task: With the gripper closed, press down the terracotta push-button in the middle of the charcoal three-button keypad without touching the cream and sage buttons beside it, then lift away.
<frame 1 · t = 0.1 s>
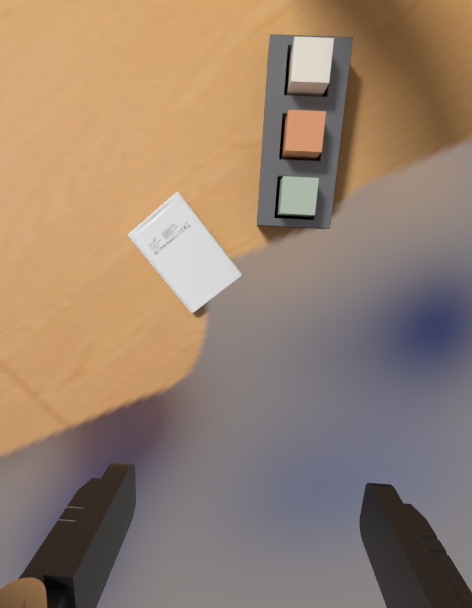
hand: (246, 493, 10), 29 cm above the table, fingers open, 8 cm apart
external hard drive: (187, 254, 38), on the table
cream button: (308, 69, 30), point 3 cm above the table, slide at 0.0 cm
terracotta button: (302, 136, 31), point 3 cm above the table, slide at 0.0 cm
keypad: (297, 145, 34), on the table
sage button: (296, 197, 32), point 3 cm above the table, slide at 0.0 cm
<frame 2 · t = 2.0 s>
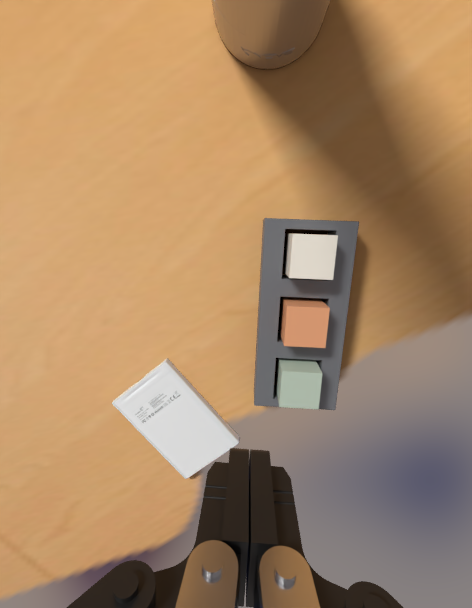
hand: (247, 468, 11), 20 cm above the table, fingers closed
external hard drive: (179, 414, 35), on the table
cream button: (309, 255, 26), point 3 cm above the table, slide at 0.0 cm
terracotta button: (303, 321, 28), point 3 cm above the table, slide at 0.0 cm
keypad: (297, 312, 31), on the table
sage button: (297, 381, 29), point 3 cm above the table, slide at 0.0 cm
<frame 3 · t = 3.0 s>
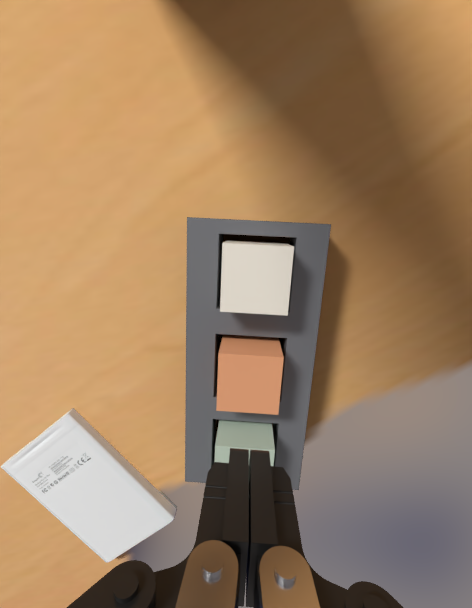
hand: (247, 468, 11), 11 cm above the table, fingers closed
external hard drive: (97, 477, 26), on the table
cream button: (255, 275, 17), point 3 cm above the table, slide at 0.0 cm
terracotta button: (249, 370, 19), point 3 cm above the table, slide at 0.0 cm
keypad: (249, 350, 22), on the table
sage button: (243, 452, 20), point 3 cm above the table, slide at 0.0 cm
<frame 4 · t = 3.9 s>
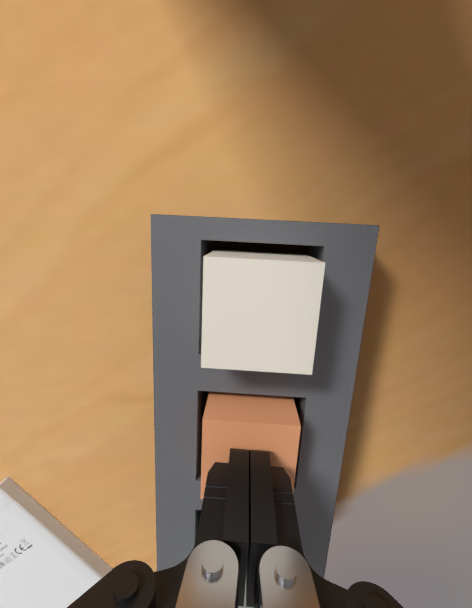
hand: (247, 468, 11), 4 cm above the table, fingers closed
external hard drive: (48, 560, 20), on the table
cream button: (258, 304, 11), point 3 cm above the table, slide at 0.0 cm
terracotta button: (248, 434, 13), point 3 cm above the table, slide at 0.7 cm, touching gripper
keypad: (248, 401, 16), on the table
sage button: (240, 557, 14), point 3 cm above the table, slide at 0.0 cm
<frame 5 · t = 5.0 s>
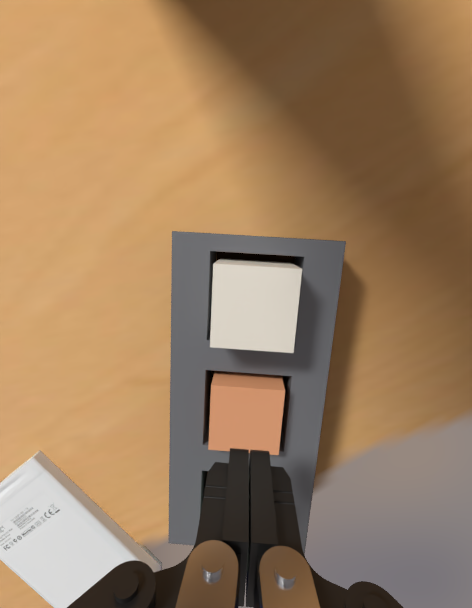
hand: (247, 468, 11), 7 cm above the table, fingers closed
external hard drive: (70, 529, 23), on the table
cream button: (253, 301, 14), point 3 cm above the table, slide at 0.0 cm
terracotta button: (245, 402, 17), point 2 cm above the table, slide at 1.2 cm
keypad: (246, 384, 19), on the table
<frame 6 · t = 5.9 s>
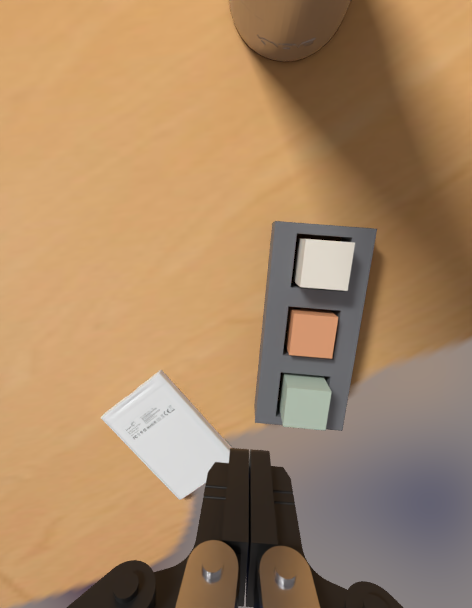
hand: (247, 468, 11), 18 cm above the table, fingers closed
external hard drive: (173, 429, 33), on the table
cream button: (321, 263, 24), point 3 cm above the table, slide at 0.0 cm
terracotta button: (309, 330, 27), point 2 cm above the table, slide at 1.2 cm
keypad: (304, 323, 29), on the table
sage button: (303, 398, 27), point 3 cm above the table, slide at 0.0 cm
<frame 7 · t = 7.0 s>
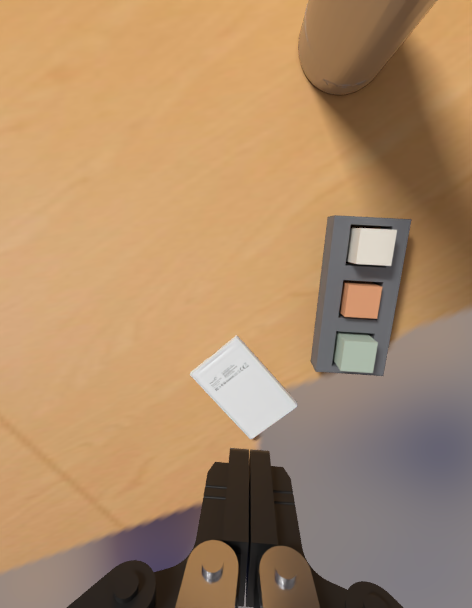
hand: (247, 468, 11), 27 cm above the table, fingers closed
external hard drive: (244, 384, 41), on the table
cream button: (369, 246, 32), point 3 cm above the table, slide at 0.0 cm
terracotta button: (357, 298, 35), point 2 cm above the table, slide at 1.2 cm
keypad: (351, 295, 37), on the table
sage button: (353, 351, 35), point 3 cm above the table, slide at 0.0 cm
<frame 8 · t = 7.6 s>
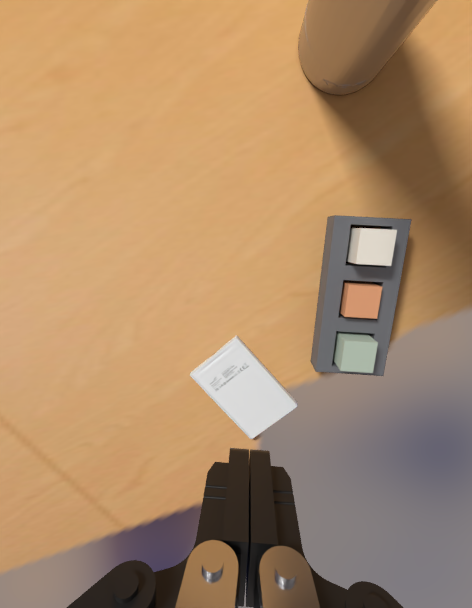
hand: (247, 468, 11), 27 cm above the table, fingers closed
external hard drive: (244, 384, 41), on the table
cream button: (369, 246, 32), point 3 cm above the table, slide at 0.0 cm
terracotta button: (357, 298, 35), point 2 cm above the table, slide at 1.2 cm
keypad: (351, 295, 37), on the table
sage button: (353, 351, 35), point 3 cm above the table, slide at 0.0 cm
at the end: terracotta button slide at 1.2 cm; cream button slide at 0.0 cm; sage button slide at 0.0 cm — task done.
